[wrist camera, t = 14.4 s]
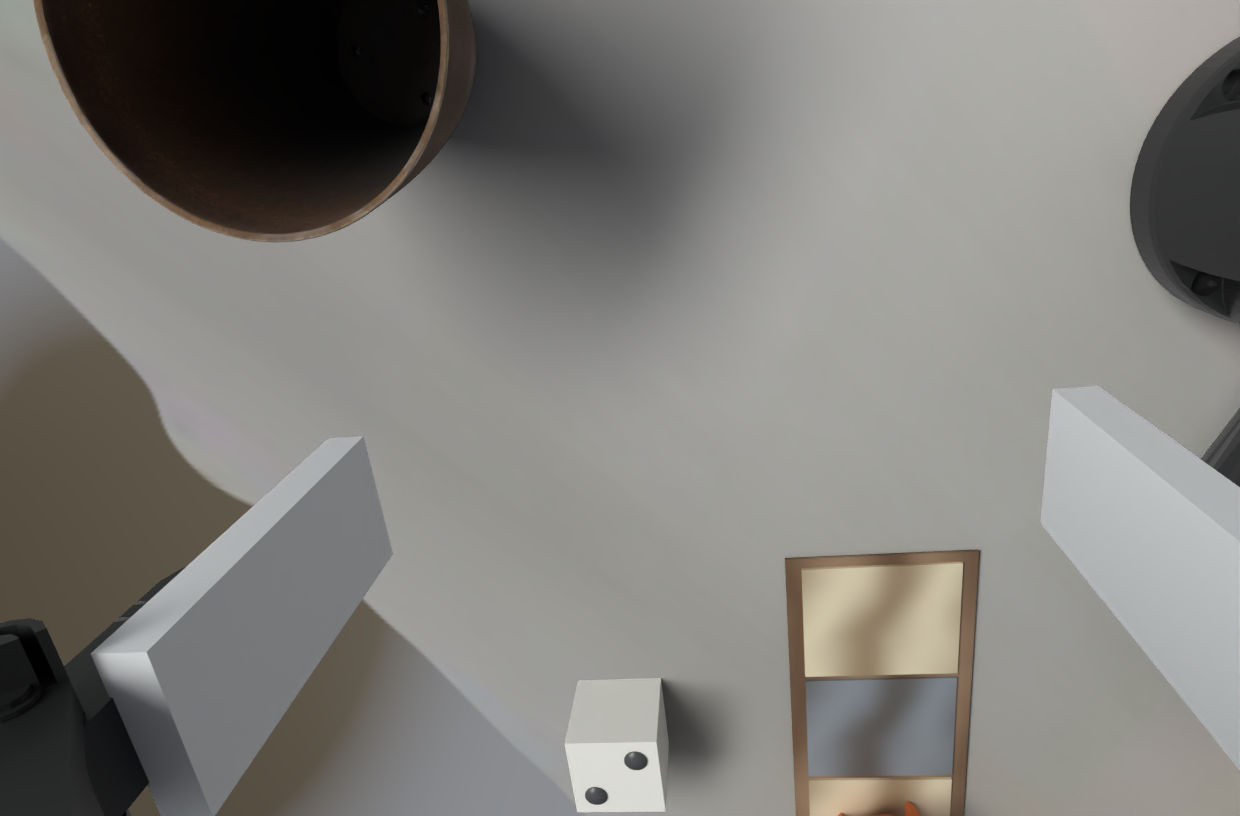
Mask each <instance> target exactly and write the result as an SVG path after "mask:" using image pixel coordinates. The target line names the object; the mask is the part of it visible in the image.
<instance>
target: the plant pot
mask: <svg viewBox="0 0 1240 816" xmlns="http://www.w3.org/2000/svg"><path fill="white" fill-rule="evenodd" d="M422 4H426V5H427V6H428V7H429V10H428V12H427V13H426V12H425V11H424V10H422V9H421V10H420V9H419V8H420V7H421V5H422ZM34 7H35V12H36V17H37V22H38V26H39V30H40V34H41V37H42V41H43V44H44V47H45V50H46V53H47V56H48V59H49V61H50V64H51V67H52V70H53V72H54V74H55V76H56V78H57V80H58V83H59V85H60V87H61V89H62V91H63V94H64V96H65V98H66V99H67V101H68V103H69V105H70V107H71V108H72V110H73V112H74V113H75V115H76V117H77V118H78V120H79V122H80V123H81V125H82V126H83V127H84V129H85V130H86V131H87V133H88V134H89V135H90V137H91V138H92V140H93V141H94V142H95V144H96V145H97V146H98V147H99V148H100V150H101V151H102V152H103V153H104V155H105V156H106V157H107V158H108V159H109V161H110V162H111V163H112V164H113V165H114V166H115V167H116V168H117V169H118V170H119V171H120V172H121V173H122V174H123V175H124V176H125V177H126V178H128V179H129V180H130V181H131V182H132V183H133V184H134V185H136V186H137V187H138V188H139V189H140V190H141V191H142V192H143V193H145V194H146V195H148V196H149V197H151V198H152V199H153V200H155V201H156V202H158V203H159V204H161V205H162V206H164V207H165V208H167V209H168V210H170V211H172V212H173V213H175V214H177V215H179V216H180V217H182V218H184V219H186V220H188V221H190V222H192V223H194V224H196V225H198V226H201V227H204V228H206V229H209V230H211V231H214V232H217V233H221V234H224V235H227V236H231V237H236V238H241V239H245V240H251V241H260V242H293V241H301V240H306V239H312V238H316V237H320V236H323V235H326V234H329V233H332V232H335V231H338V230H340V229H342V228H345V227H347V226H349V225H351V224H352V223H354V222H356V221H358V220H360V219H361V218H363V217H364V216H366V215H367V214H369V213H370V212H372V211H373V210H374V209H376V208H377V207H379V206H380V205H381V204H383V203H384V202H385V201H386V200H388V199H389V198H390V197H392V196H393V195H394V194H396V193H397V192H398V191H400V190H401V189H402V188H403V187H405V186H406V185H407V184H408V183H409V182H410V181H411V180H413V179H414V178H415V177H416V176H417V175H418V174H419V173H420V172H421V171H422V170H423V169H424V168H425V167H426V166H427V165H428V164H429V163H430V162H431V161H432V160H433V159H434V157H435V156H436V155H437V154H438V152H439V151H440V150H441V149H442V148H443V146H444V145H445V143H446V142H447V141H448V139H449V138H450V136H451V134H452V133H453V131H454V129H455V128H456V126H457V124H458V122H459V121H460V119H461V117H462V115H463V112H464V110H465V108H466V106H467V103H468V100H469V97H470V94H471V91H472V86H473V82H474V76H475V68H476V41H475V31H474V26H473V21H472V16H471V12H470V8H469V5H468V1H467V0H34ZM354 46H358V47H359V48H360V53H361V56H360V57H358V58H357V57H355V56H354V54H353V48H354ZM424 93H429V94H430V95H431V97H432V102H431V103H430V104H426V103H425V102H423V100H422V95H423V94H424Z"/></svg>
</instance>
